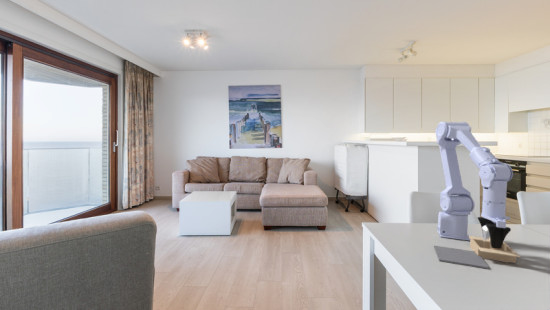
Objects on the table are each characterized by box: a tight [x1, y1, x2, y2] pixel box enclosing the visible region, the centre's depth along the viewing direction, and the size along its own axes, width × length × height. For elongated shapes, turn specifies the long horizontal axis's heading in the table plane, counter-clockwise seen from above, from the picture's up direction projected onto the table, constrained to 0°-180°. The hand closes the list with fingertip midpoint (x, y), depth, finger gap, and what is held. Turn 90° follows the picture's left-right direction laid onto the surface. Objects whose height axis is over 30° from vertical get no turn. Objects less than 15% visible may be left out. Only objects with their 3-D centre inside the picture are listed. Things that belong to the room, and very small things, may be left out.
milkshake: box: [481, 225, 497, 250], centre depth 84 cm, size 5×5×10 cm
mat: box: [433, 245, 490, 270], centre depth 82 cm, size 12×12×1 cm
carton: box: [468, 235, 521, 264], centre depth 84 cm, size 9×14×3 cm, turn 156°
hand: (492, 243), depth 84 cm, fingers open, 7 cm apart
